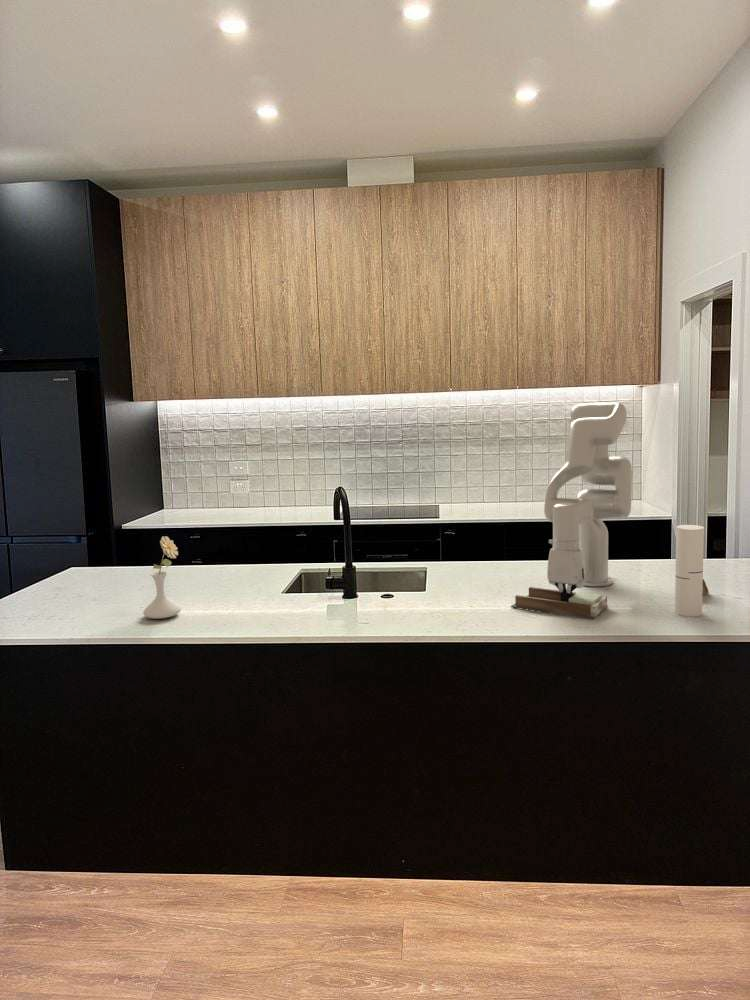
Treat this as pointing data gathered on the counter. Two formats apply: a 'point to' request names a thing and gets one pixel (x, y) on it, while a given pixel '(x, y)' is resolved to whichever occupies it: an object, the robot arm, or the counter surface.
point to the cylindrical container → (689, 570)
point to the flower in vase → (161, 603)
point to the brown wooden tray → (558, 604)
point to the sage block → (584, 598)
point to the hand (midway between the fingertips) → (566, 604)
